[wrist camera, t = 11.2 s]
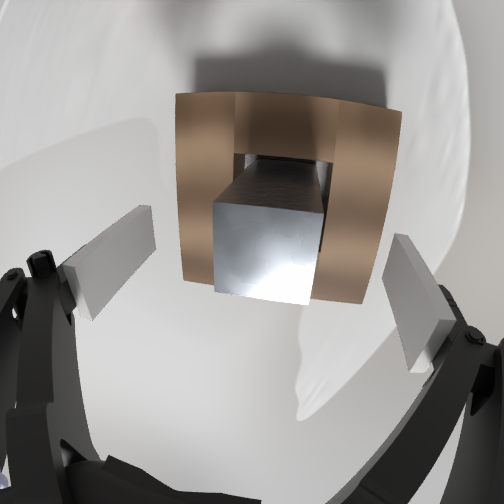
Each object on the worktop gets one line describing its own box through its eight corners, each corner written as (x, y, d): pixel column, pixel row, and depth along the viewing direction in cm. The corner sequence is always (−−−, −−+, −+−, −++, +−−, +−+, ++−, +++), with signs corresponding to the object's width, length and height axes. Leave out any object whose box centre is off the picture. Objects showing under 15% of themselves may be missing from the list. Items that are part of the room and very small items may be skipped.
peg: (256, 158, 23) (212, 201, 13) (315, 164, 23) (323, 213, 12) (253, 213, 26) (214, 291, 15) (309, 220, 25) (308, 304, 15)
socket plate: (195, 95, 21) (175, 93, 18) (387, 111, 19) (402, 112, 16) (198, 258, 29) (183, 280, 26) (356, 279, 27) (361, 304, 23)
